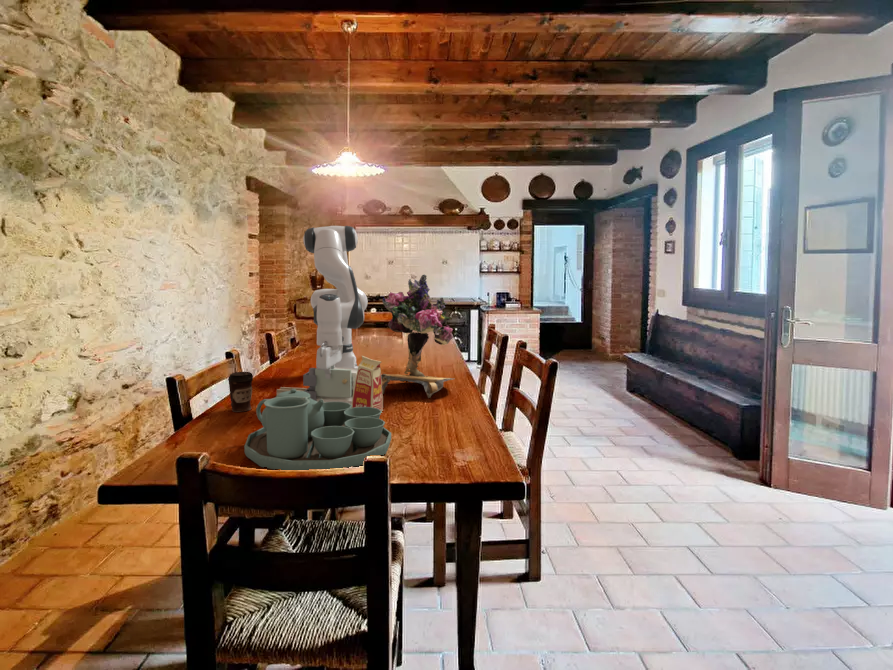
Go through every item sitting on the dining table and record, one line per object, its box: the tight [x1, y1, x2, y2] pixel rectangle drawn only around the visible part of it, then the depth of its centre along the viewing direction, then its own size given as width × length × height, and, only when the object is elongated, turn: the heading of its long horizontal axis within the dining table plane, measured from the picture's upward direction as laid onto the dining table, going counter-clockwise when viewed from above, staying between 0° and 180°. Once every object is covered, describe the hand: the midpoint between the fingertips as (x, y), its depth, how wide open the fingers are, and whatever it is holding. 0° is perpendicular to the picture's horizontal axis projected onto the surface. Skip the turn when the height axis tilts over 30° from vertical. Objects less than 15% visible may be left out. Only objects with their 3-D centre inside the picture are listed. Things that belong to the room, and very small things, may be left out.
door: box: [308, 367, 351, 397], centre depth 203 cm, size 3×15×10 cm, turn 85°
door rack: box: [276, 386, 307, 396], centre depth 214 cm, size 5×10×3 cm, turn 85°
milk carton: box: [351, 355, 384, 414], centre depth 192 cm, size 9×9×20 cm
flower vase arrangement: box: [381, 274, 454, 399], centre depth 227 cm, size 33×44×45 cm
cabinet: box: [302, 367, 358, 405], centre depth 209 cm, size 16×18×11 cm
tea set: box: [243, 389, 392, 470], centre depth 157 cm, size 40×40×16 cm
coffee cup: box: [227, 371, 254, 413], centre depth 193 cm, size 9×8×13 cm
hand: (329, 377), depth 203 cm, fingers closed on door, 2 cm apart
